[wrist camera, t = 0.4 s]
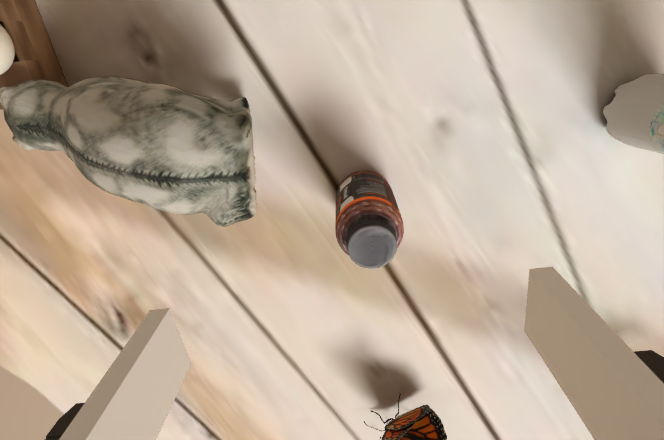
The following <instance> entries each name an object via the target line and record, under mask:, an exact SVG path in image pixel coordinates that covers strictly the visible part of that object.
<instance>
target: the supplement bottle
mask: <svg viewBox="0 0 664 440" xmlns="http://www.w3.org/2000/svg"><path fill="white" fill-rule="evenodd" d="M403 233H404V227H403V221H402V218H401V214H400V212H399V209H398V206H397V203H396V200H395V197H394V195H393V192H392V189H391V187H390V186H389V184H388V182H387V181H386V180H385V179H384V178H383V177H382V176H380V175H379V174H376V173H373V172H369V171H361V172H356V173H354V174H351V175H350V176H348V177H347V178H346V179H345V180H344V181H343V182H342V183H341V185H340V186H339V189H338V191H337V196H336V238H337V241H338V243H339V245H340V247H341V248H342V250H343V251H344V252H345V253H346V254H348V255H349V256H350V258H351V259H352V260H353V261H354V262H355V263H356V264H358V265H359V266H361V267H364V268H379V267H381V266H384V265H386V264H387V263H389V262H390V261H391V260H392V259H393V257H394V255H395V253H396V250H397V248H398V246H399V245H400V243H401V241H402V238H403Z"/></svg>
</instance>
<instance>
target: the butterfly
mask: <svg viewBox="0 0 664 440" xmlns="http://www.w3.org/2000/svg"><path fill="white" fill-rule="evenodd" d="M400 394H401V393H400ZM399 398H400V396H399ZM371 412H373V411H371ZM374 413H376V412H374ZM376 414H378V413H376ZM398 414H399V400H398V413H397V414H396V416H397V415H398ZM378 415H379V414H378ZM379 416H380V415H379ZM396 416H395V419H393V418H390V419H388V420H387V421H386V422H388V421H390V420H391V419H392V421H390V422H389V423H388V425H386V426H385V430H384V431H385V433H384V435H383V437H382V440H447V435H446V433H445V431H444V427H443V424H442V422H441V420H440V418H439V417H438V416H437V414H436V413H435V412H434V411H433V410H432V409H431V408H430V407H429V406H428V405H423V406H421V407H419V408H416V409H414V410H411V411H409V412H407V413H404V414H402V415H399V416H398V417H397V418H396ZM380 418H381V416H380ZM381 420H382V418H381ZM382 421H383V420H382ZM383 422H384V421H383ZM386 422H384V424H385V423H386ZM364 423H365V421H364ZM365 425H366V423H365ZM367 426H368V425H367ZM370 427H371V426H370ZM372 428H373V427H372ZM374 429H375V428H374ZM377 430H378V429H377ZM380 431H381V430H380ZM380 439H381V437H380Z"/></svg>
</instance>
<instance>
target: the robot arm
mask: <svg viewBox="0 0 664 440" xmlns="http://www.w3.org/2000/svg"><path fill="white" fill-rule="evenodd" d="M524 331H525V333H526V334H527V336H528V337H529V339H530V340H531V342H532V343H533V345H534V346H535V348H536V350H537V351H538V353H539V354H540V356H541V357H542V359H543V360H544V362H545V364H546V365H547V367H548V368H549V370H550V371H551V373H552V374H553V376H554V377H555V379H556V381H557V382H558V384H559V385H560V387H561V388H562V390H563V391H564V393H565V395H566V396H567V398H568V399H569V401H570V402H571V404H572V405H573V407H574V408H575V410H576V412H577V413H578V415H579V416H580V418H581V419H582V421H583V422H584V424H585V426H586V427H587V429H588V430H589V432H590V433H591V435H592V436H593V438H594V439H595V440H664V357H662V356H660V355H659V354H657V353H655V352H654V351H652V350H648V351H637V352H633V351H632V350H631V349H630V348H629V347H628V346H627V345H626V344H625V342H624V341H623V340H622V339H621V338H620V337H619V336H618V335H617V334H616V333H615V332H614V331H613V330H612V329H611V328H610V327H609V326H608V325H607V324H606V323H605V322H604V320H603V319H602V318H601V317H600V316H599V315H598V314H597V313H596V312H595V311H594V310H593V309H592V308H591V307H590V306H589V305H588V304H587V303H586V302H585V301H584V300H583V298H582V297H581V296H580V295H579V294H578V293H577V292H576V291H575V290H574V289H573V288H572V287H571V286H570V285H569V284H568V283H567V282H566V281H565V280H564V279H563V278H562V276H561V275H560V274H559V273H558V272H557V271H556V270H555V269H554V268H553V267H546V268H536V269H530V271H529V282H528V294H527V306H526V317H525V329H524ZM190 365H191V361H190V358H189V356H188V353H187V351H186V348H185V346H184V343H183V341H182V338H181V336H180V333H179V330H178V328H177V325H176V323H175V320H174V318H173V315H172V313H171V310H170V308H168V309H159V310H150V311H149V313H148V314H147V316H146V317H145V319H144V320H143V321H142V323H141V324H140V326H139V327H138V328H137V330H136V331H135V333H134V334H133V336H132V337H131V338H130V340H129V341H128V343H127V344H126V345H125V347H124V348H123V350H122V351H121V353H120V354H119V355H118V357H117V358H116V360H115V361H114V362H113V364H112V365H111V367H110V368H109V370H108V371H107V372H106V374H105V375H104V377H103V378H102V379H101V381H100V382H99V384H98V385H97V387H96V388H95V389H94V391H93V392H92V394H91V395H90V396H89V398H88V399H87V401H86V402H85V403H78V404H75V405H74V406H73V407H72V408H71V409H70V410H69V411H68V412H66V413H65V414H64V415H63V416H62V417H61V418H60V419H59V420H58V421H57V422H56V424H55V425H54V427H53V428H52V429H51V431H50V432H49V433H48V435H47V436H46V440H156V438H157V436H158V434H159V432H160V430H161V428H162V425H163V423H164V421H165V419H166V417H167V415H168V412H169V410H170V408H171V406H172V404H173V402H174V399H175V397H176V395H177V393H178V391H179V389H180V386H181V384H182V382H183V380H184V378H185V376H186V373H187V371H188V369H189V367H190Z"/></svg>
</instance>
